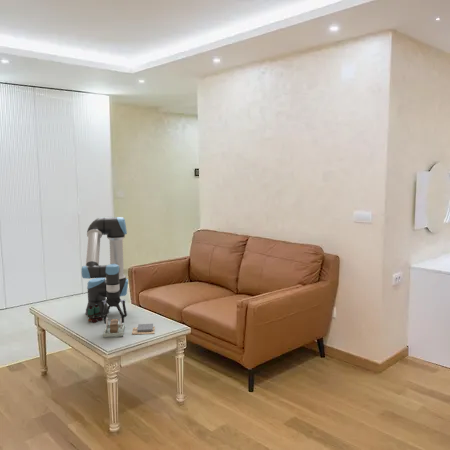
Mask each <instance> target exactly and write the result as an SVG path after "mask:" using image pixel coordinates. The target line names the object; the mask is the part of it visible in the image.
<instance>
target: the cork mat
mask: <svg viewBox="0 0 450 450" xmlns="http://www.w3.org/2000/svg"><path fill="white" fill-rule="evenodd" d="M137 328H138V326H137V327H133V328H132V331H131V335H132V336H133V335H134V336H135V335H137V334H139V335H154V334H155V329H156V328H155V326H153V331H146V332H137ZM137 336H138V335H137Z"/></svg>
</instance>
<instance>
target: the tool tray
mask: <svg viewBox="0 0 450 450" xmlns="http://www.w3.org/2000/svg"><path fill="white" fill-rule="evenodd" d="M125 330H126V323H122V329H121V327H120V323H118V333H110V324H108V330H106V327H105V328H104V330H103V333H102V338H104V339H106V338H123V336H124V332H125Z"/></svg>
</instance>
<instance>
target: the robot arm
mask: <svg viewBox="0 0 450 450" xmlns="http://www.w3.org/2000/svg"><path fill="white" fill-rule="evenodd" d="M127 233H128V230H127V224H126V219H125V217H123V216H110V217H109V216H107V217H106V216H105V217H97V218H96V219H94V220H93V221H92V222H91V223H90V225H89V226H88V228H87V231H86V237H87V247H86V249H87V250H86V258H85V259H86V260H85V265H83V266H81V277H82V279H90V280H88V281H87V287H86V289H87V305H86V308H85V315H87V316H88V309H89V308H90V307H89V305H92V306H93V307H95V304H96V303H98V306H99V309H100V313H101V314H100V315H99V316H100V317H101V318H103V324H104V325H105V328H106V330H108V325H109V317H107V316H108V314H109V313H110V309H111V308H113V307H114V308H116V309H117V310H118V312H119V315H120V318H119V319H120V320H119V324H120V327H121V329H122V324H125V323H124V322H125V318H126V317H127V316H128V313H127V307H126V299H121V297H126V296H127V294H128V285H129V279H128V278H127V275H126V274H124V273H125V272H124V270H125V269H124V249H123V248H124V245H123V244H124V243H123V242H124V241H123V240H124V238H125V237H126V235H127ZM102 236H106V238H107V240H109V241H108V242H109V264H104V265H100V252H101V251H100V250H101V238H102ZM120 303H121V305H122V309H121V306H120ZM93 307H92V308H93ZM122 310H123V311H122ZM103 314H104V315H103Z"/></svg>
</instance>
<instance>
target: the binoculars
mask: <svg viewBox="0 0 450 450" xmlns="http://www.w3.org/2000/svg"><path fill="white" fill-rule="evenodd" d="M89 307H90V308H89V309H88V315H87V318H88V322H91V323H97V322H101V321H104V318H101V315H100V314H101V313H100V309H99V306H98V303H96V304H95V307H93V306H92V305H89ZM92 307H93V308H92ZM103 315H104V316H105V314H103Z"/></svg>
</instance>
